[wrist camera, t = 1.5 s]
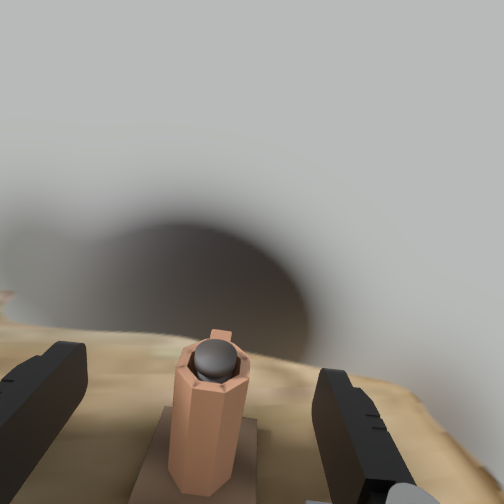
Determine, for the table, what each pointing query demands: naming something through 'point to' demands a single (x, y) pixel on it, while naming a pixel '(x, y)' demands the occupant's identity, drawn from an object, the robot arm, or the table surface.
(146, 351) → the table surface
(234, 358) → the stake stand
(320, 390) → the robot arm
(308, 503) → the tray
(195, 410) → the sleeve
